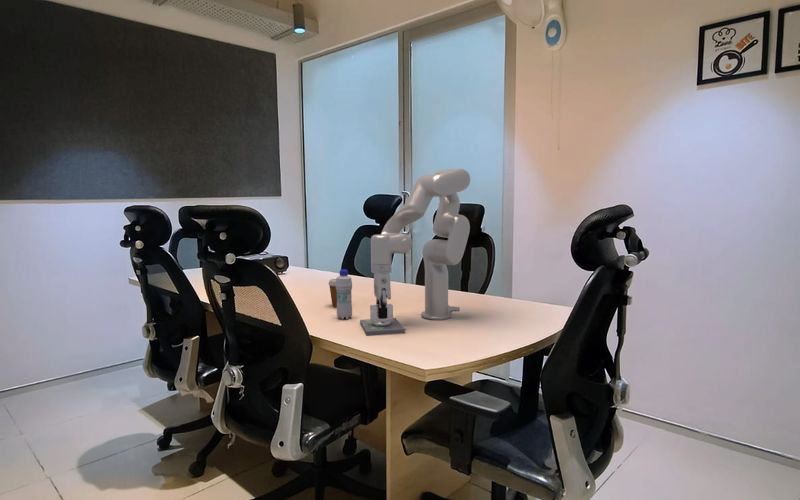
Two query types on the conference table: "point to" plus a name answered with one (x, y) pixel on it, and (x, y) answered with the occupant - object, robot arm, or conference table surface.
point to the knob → (375, 316)
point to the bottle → (344, 295)
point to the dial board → (382, 328)
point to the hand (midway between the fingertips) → (381, 316)
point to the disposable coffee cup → (333, 292)
